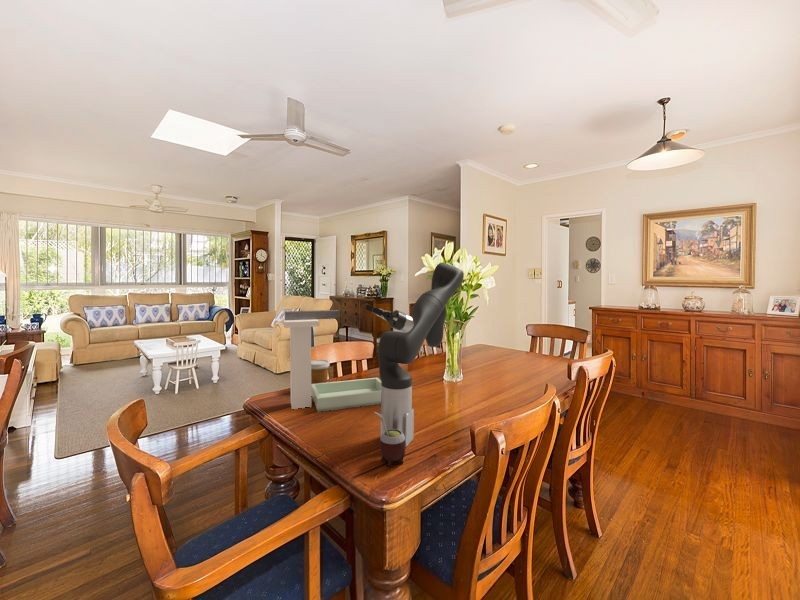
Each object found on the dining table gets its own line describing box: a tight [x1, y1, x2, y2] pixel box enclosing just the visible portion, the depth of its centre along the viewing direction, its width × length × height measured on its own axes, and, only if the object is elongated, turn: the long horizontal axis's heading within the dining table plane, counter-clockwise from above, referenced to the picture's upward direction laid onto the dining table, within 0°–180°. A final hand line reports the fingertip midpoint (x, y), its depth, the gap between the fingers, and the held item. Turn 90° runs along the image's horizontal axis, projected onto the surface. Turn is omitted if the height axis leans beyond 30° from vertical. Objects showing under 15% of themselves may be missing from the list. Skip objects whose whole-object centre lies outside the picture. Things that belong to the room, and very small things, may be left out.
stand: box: [282, 317, 320, 410], centre depth 133 cm, size 12×13×33 cm
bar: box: [284, 309, 341, 320], centre depth 133 cm, size 20×3×3 cm, turn 111°
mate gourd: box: [373, 411, 407, 469], centre depth 93 cm, size 8×8×15 cm
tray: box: [311, 377, 381, 413], centre depth 141 cm, size 28×18×5 cm, turn 111°
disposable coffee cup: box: [311, 359, 331, 384], centre depth 153 cm, size 10×10×12 cm
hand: (369, 307), depth 140 cm, fingers open, 8 cm apart
